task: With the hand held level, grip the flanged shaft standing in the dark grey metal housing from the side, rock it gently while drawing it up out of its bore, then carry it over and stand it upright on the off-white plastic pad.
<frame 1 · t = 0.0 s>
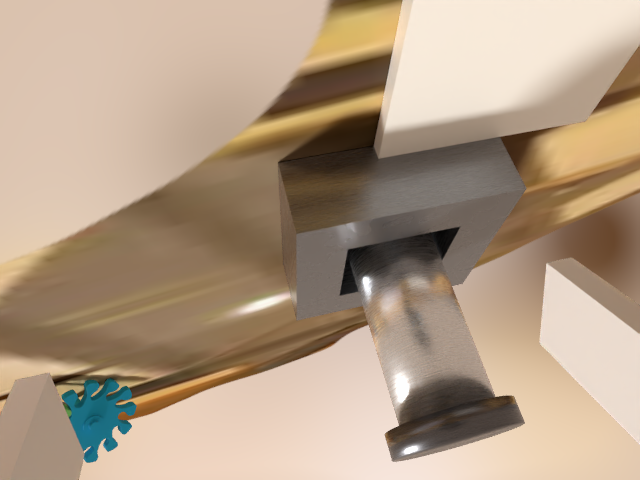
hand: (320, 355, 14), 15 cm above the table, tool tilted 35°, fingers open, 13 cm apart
pad: (519, 38, 28), on the table
flanged shaft: (378, 215, 39), point 1 cm above the table, touching housing
gear: (84, 385, 59), on the table
housing: (374, 203, 39), on the table
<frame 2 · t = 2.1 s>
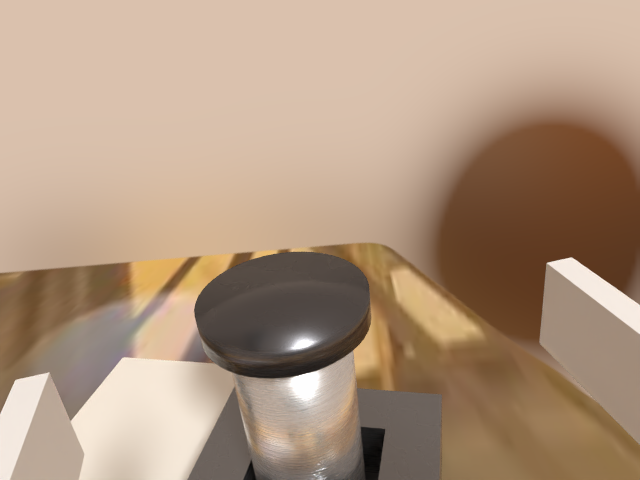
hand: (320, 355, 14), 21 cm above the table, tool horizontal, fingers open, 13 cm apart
pad: (158, 432, 41), on the table
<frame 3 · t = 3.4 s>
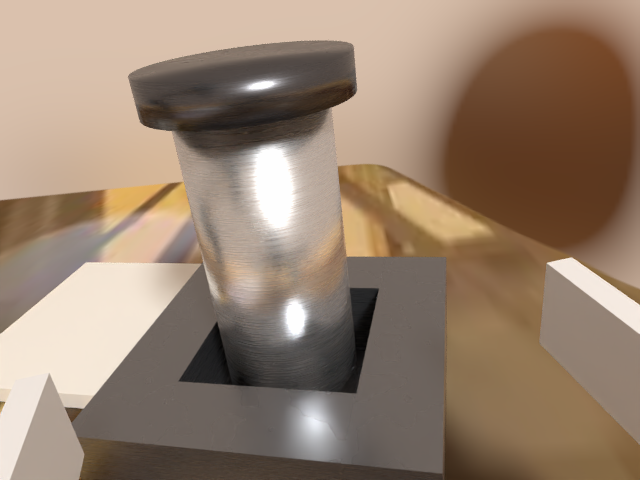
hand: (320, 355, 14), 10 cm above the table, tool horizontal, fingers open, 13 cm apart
pad: (119, 328, 35), on the table
flanged shaft: (299, 396, 26), point 1 cm above the table, touching housing
housing: (302, 411, 27), on the table
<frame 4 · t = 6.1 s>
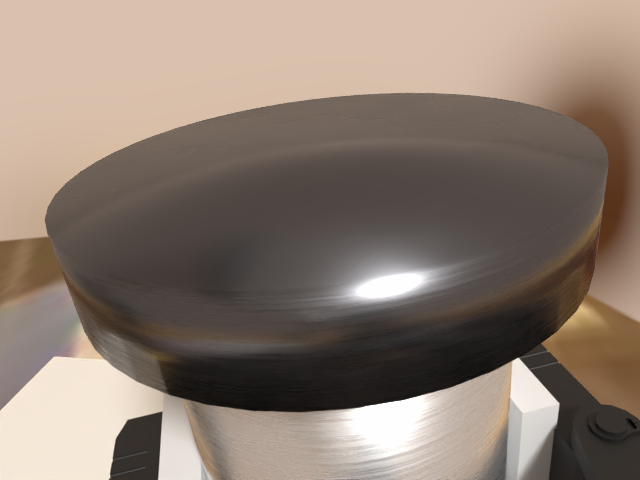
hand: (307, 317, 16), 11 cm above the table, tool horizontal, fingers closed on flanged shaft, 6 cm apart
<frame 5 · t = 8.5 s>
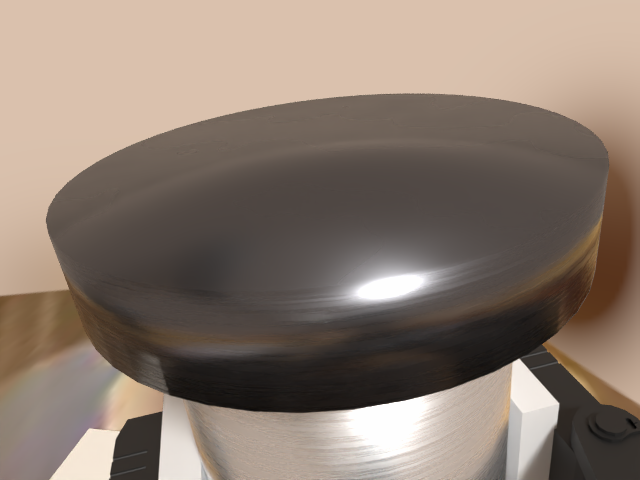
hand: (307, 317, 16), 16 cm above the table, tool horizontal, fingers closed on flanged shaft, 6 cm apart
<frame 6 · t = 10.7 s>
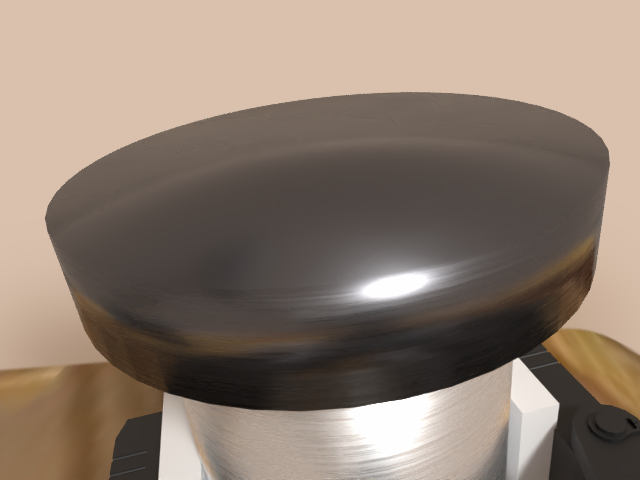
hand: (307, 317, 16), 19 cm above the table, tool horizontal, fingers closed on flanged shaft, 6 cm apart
when the fingers open (12 cm above the table, at t = 13.0 s): flanged shaft drops 1 cm, resting on pad.
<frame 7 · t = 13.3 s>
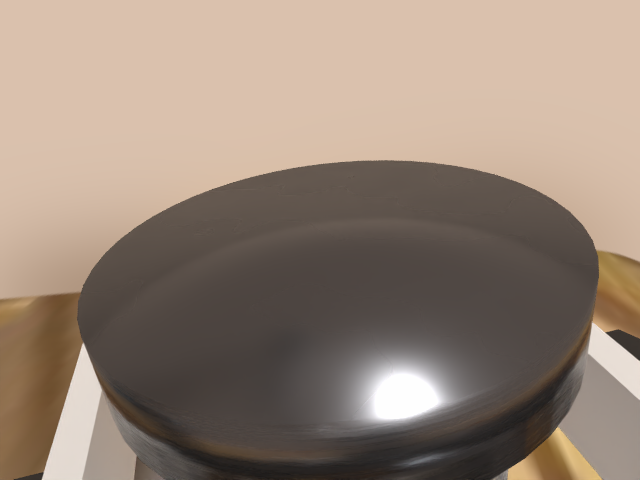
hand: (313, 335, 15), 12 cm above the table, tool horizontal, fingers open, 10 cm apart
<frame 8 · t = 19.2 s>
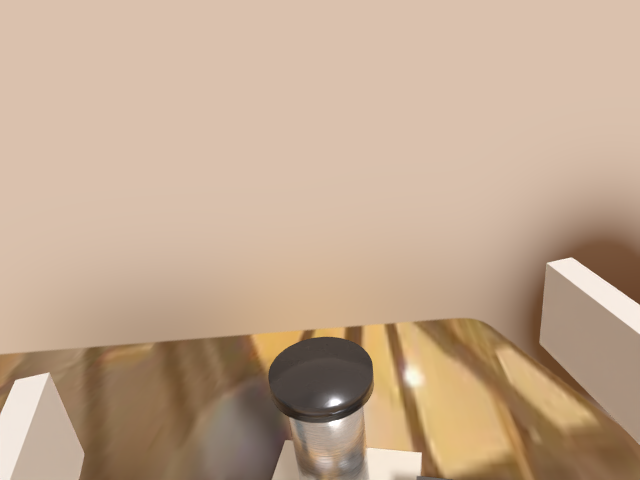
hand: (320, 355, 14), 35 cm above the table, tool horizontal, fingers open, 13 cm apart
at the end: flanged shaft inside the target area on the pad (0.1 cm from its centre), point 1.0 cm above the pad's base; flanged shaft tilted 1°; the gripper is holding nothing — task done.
